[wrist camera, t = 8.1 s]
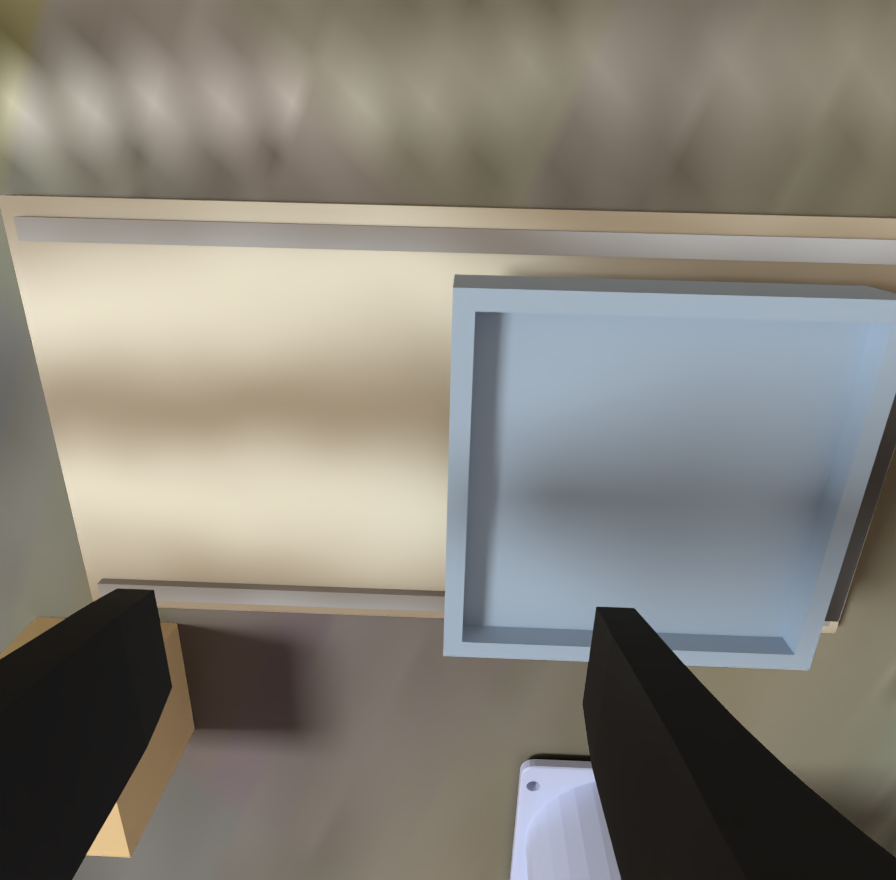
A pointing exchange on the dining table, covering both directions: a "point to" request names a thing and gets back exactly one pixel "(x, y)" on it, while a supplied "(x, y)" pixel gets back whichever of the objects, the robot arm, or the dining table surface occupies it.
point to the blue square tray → (658, 461)
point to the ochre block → (157, 759)
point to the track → (323, 375)
